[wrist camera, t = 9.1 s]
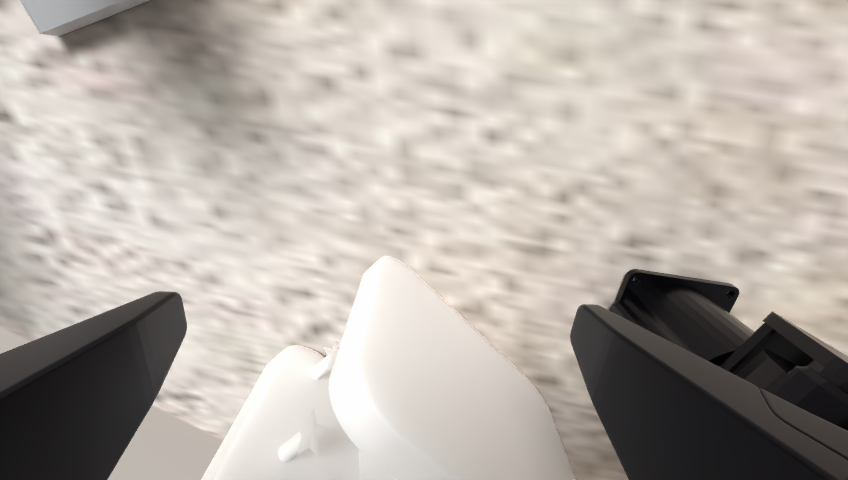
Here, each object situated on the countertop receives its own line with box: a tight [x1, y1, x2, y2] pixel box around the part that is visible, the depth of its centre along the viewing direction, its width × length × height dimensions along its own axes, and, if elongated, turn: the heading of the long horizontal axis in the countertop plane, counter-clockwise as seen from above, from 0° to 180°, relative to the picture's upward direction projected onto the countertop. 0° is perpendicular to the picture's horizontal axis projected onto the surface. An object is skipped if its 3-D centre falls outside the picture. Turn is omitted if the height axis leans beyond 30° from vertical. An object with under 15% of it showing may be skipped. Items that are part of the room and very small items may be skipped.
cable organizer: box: [201, 256, 576, 480], centre depth 20 cm, size 15×11×12 cm
